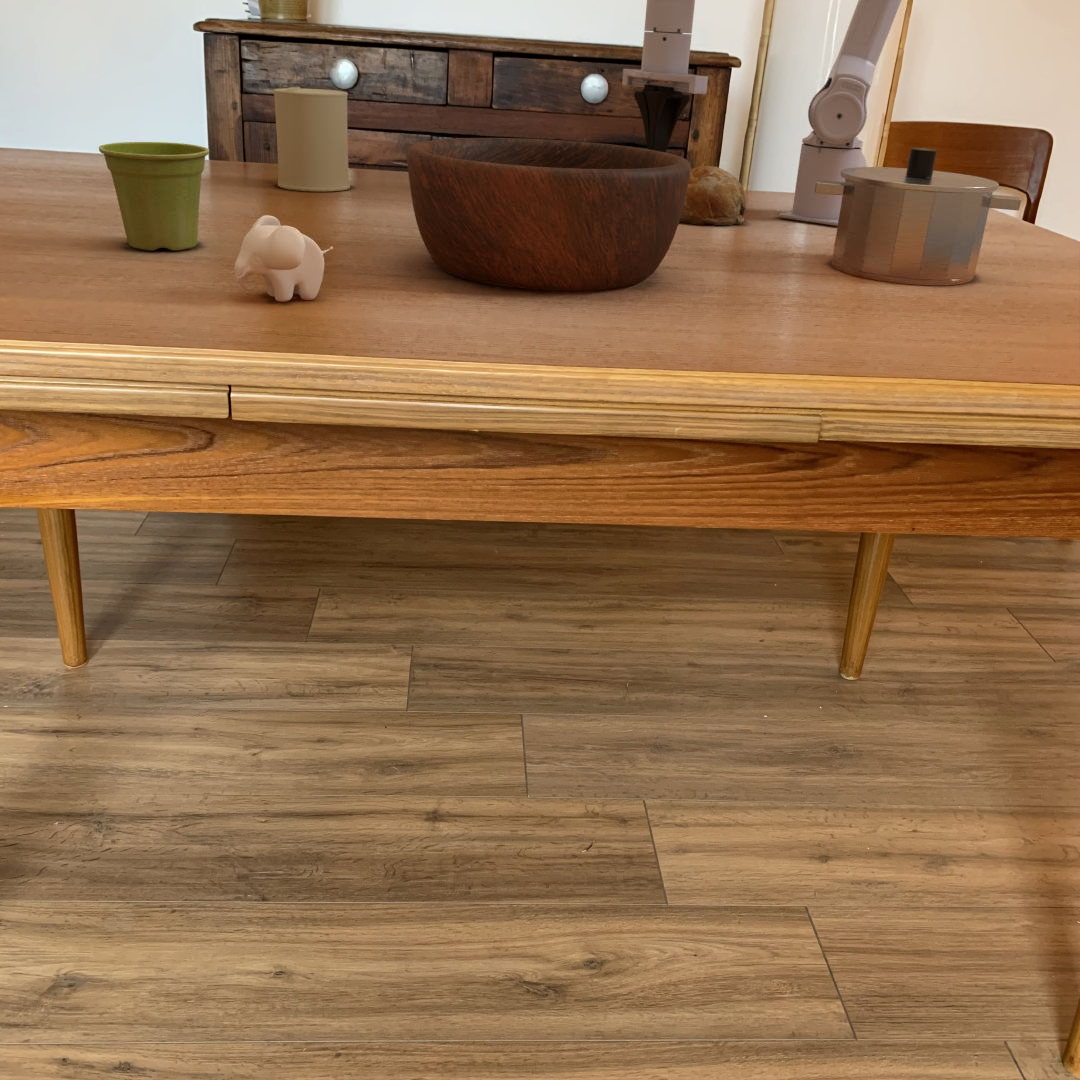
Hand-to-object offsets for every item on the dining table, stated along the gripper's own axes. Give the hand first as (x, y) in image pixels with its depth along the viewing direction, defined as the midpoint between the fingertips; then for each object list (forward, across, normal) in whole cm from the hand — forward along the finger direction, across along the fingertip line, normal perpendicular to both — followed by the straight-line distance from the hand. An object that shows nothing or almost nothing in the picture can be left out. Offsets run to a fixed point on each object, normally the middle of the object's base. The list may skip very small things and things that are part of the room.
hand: (656, 151), depth 138 cm
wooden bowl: (+7, +30, -35) cm, 46 cm away
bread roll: (+7, +10, 0) cm, 12 cm away
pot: (+7, +41, 0) cm, 42 cm away
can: (+7, -25, -36) cm, 44 cm away
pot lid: (-2, +41, 0) cm, 41 cm away
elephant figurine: (+7, +33, -61) cm, 69 cm away
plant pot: (+7, +9, -64) cm, 65 cm away
